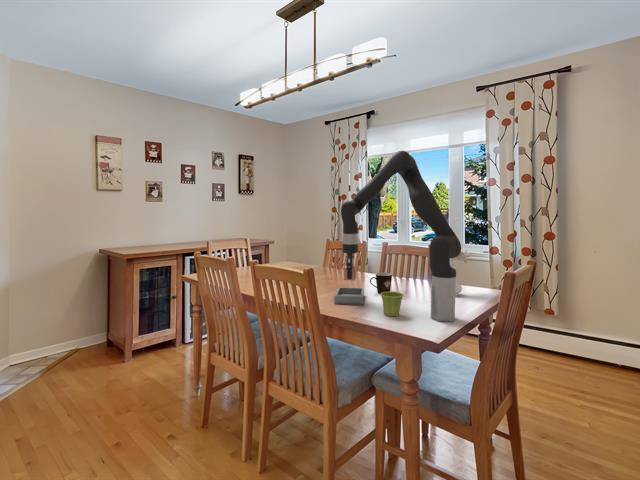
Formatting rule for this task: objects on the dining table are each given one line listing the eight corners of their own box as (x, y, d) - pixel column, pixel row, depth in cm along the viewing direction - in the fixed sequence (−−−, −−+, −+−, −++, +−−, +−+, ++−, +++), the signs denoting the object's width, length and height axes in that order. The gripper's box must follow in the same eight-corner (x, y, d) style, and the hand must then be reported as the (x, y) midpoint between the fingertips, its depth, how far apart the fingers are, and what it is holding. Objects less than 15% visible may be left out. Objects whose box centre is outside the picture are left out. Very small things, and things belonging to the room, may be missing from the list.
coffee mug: (391, 291, 189) (391, 272, 188) (392, 295, 181) (393, 275, 180) (369, 290, 190) (369, 272, 190) (369, 294, 182) (370, 275, 181)
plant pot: (386, 310, 154) (387, 290, 153) (407, 314, 148) (407, 293, 147) (375, 315, 147) (376, 294, 146) (396, 319, 141) (396, 298, 140)
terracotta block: (355, 280, 168) (355, 267, 168) (343, 280, 169) (343, 267, 169) (356, 278, 174) (356, 266, 173) (344, 277, 174) (344, 265, 174)
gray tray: (362, 304, 162) (362, 296, 162) (334, 303, 164) (334, 295, 164) (363, 295, 180) (363, 288, 180) (338, 294, 182) (338, 287, 182)
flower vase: (472, 293, 183) (474, 245, 181) (455, 299, 171) (456, 248, 169) (448, 289, 193) (450, 243, 191) (430, 295, 180) (432, 246, 178)
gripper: (357, 244, 162) (357, 281, 164) (358, 241, 176) (358, 275, 178) (340, 244, 163) (340, 280, 165) (343, 241, 177) (343, 274, 179)
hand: (350, 277), depth 171 cm, fingers closed on terracotta block, 5 cm apart
